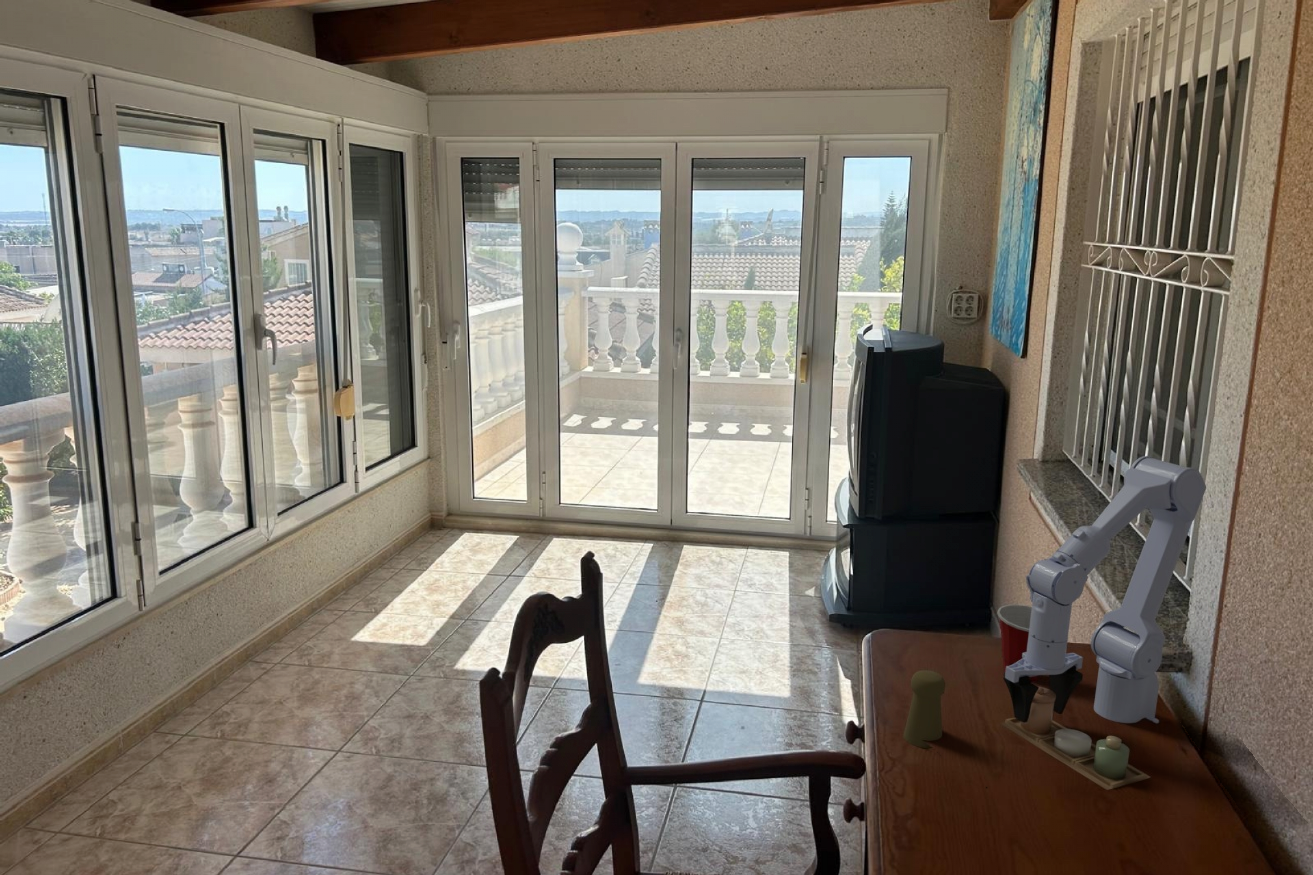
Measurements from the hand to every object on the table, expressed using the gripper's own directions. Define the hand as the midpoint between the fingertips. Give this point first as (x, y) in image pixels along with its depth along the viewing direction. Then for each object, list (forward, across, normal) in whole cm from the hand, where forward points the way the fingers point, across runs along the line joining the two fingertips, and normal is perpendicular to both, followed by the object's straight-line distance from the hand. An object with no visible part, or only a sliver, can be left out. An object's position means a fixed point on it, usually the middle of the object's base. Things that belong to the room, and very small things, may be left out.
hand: (1038, 715), depth 158 cm
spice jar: (+2, 0, 0) cm, 2 cm away
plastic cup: (+4, -14, -17) cm, 22 cm away
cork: (+4, +18, -6) cm, 19 cm away
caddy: (+3, 0, +7) cm, 8 cm away
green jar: (+2, 0, +14) cm, 14 cm away
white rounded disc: (+2, 0, +7) cm, 7 cm away
